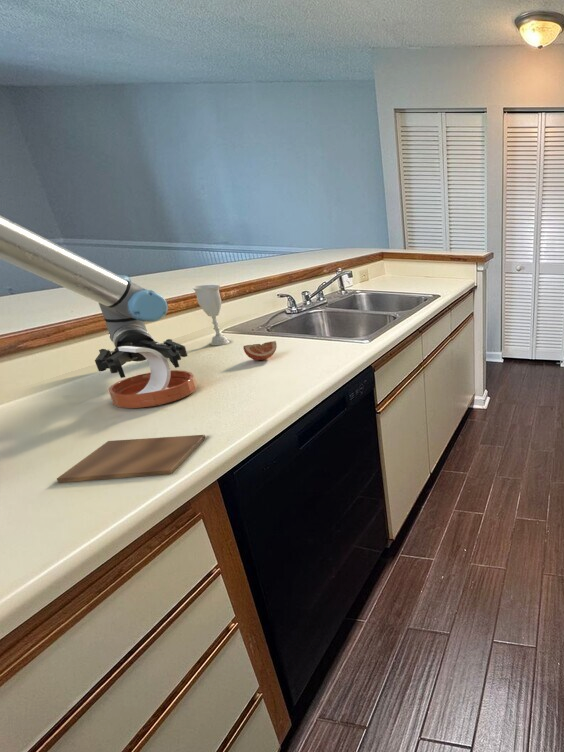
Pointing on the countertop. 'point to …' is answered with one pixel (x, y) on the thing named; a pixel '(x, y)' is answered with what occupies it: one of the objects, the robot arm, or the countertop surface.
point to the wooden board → (133, 458)
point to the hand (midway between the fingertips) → (149, 366)
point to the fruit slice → (260, 350)
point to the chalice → (211, 308)
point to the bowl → (128, 389)
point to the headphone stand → (153, 368)
